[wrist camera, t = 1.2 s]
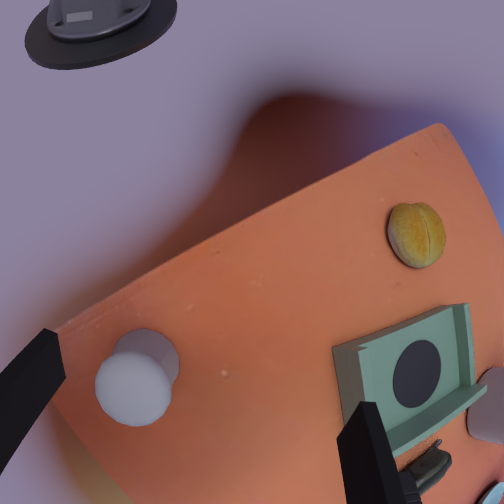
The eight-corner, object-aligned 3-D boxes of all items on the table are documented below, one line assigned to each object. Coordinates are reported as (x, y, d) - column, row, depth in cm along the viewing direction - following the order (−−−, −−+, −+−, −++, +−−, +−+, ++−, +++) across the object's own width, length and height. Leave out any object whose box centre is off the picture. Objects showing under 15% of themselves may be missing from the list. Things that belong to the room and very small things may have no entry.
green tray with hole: (331, 347, 31) (370, 353, 24) (441, 305, 36) (480, 301, 29) (346, 444, 29) (382, 465, 22) (449, 386, 34) (487, 391, 27)
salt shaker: (110, 378, 25) (69, 422, 12) (124, 319, 26) (88, 323, 14) (171, 396, 26) (174, 455, 13) (185, 338, 27) (198, 357, 15)
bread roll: (378, 206, 36) (398, 195, 32) (425, 206, 38) (444, 197, 34) (391, 273, 34) (414, 268, 31) (437, 265, 37) (459, 259, 33)
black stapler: (380, 531, 23) (464, 456, 27) (375, 520, 23) (462, 443, 27) (360, 514, 27) (441, 448, 32) (355, 502, 28) (438, 435, 32)
